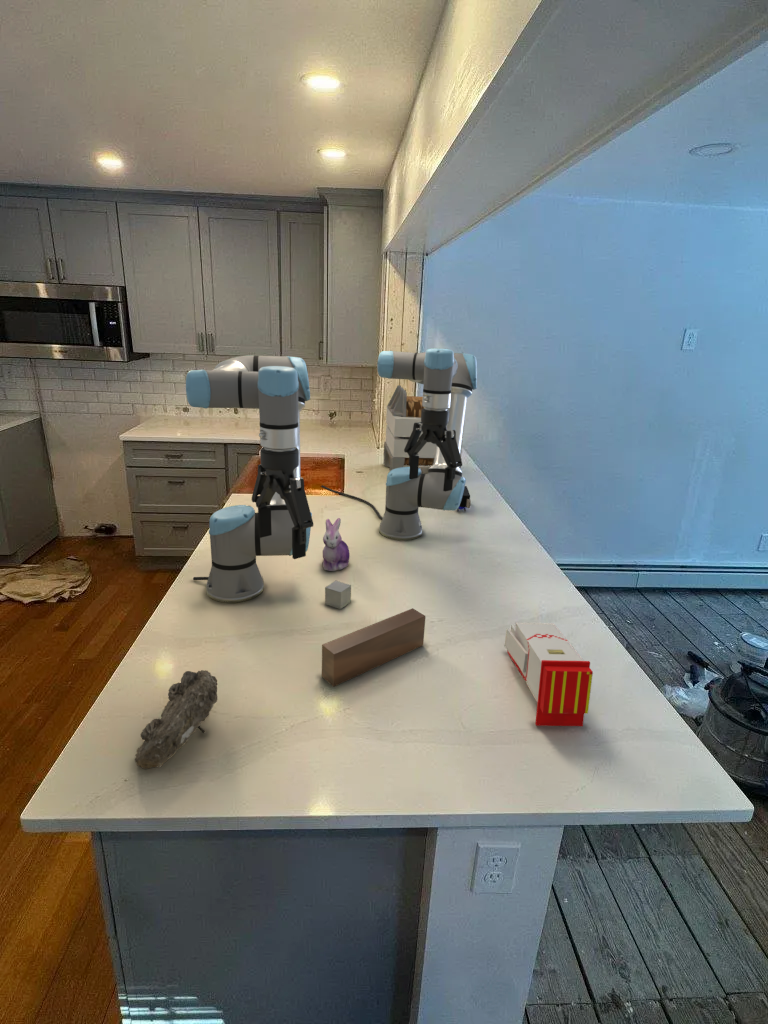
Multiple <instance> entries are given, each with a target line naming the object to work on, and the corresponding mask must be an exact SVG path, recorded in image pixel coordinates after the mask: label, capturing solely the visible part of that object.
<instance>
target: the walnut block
mask: <svg viewBox="0 0 768 1024" xmlns="http://www.w3.org/2000/svg"><path fill="white" fill-rule="evenodd" d="M425 627H426V615H424V614H423V613H421V612H420V611H418V610H417V609H415V608H410V609H407V610H405V611H403V612H400V613H397V614H395V615H392V616H390V617H387V618H385V619H382V620H380V621H377V622H375V623H373V624H370V625H367V626H365V627H363V628H359V629H357V630H355V631H352V632H350V633H347V634H345V635H342V636H339V637H337V638H335V639H332V640H330V641H327V642H325V643H322V644H321V677H322V678H323V680H325V681H327V683H329V684H330V685H331V686H332V687H333V688H335V687H337V686H339V685H341V684H343V683H345V682H347V681H349V680H351V679H355V678H357V677H358V676H360V675H363V674H365V673H367V672H370V671H371V670H373V669H375V668H377V667H380V666H382V665H384V664H387V663H388V662H390V661H393V660H395V659H397V658H399V657H402V656H403V655H406V654H408V653H410V652H412V651H414V650H416V649H418V648H421V647H423V646H424V641H425V629H426V628H425Z"/></svg>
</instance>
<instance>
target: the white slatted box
mask: <svg viewBox="0 0 768 1024" xmlns="http://www.w3.org/2000/svg"><path fill="white" fill-rule="evenodd" d="M407 394H408V393H407V390H406V389H404V388H403V387H402V385H399V384H398V385H397V386H396V388H395V390H394V392H393V394H392V395H391V398H390V400H389V402H388V404H387V405H386V413H385V414H386V415H385V423H386V428H385V438H384V442H383V466H384V467H388V468H389V472H390V471H391V470H393V469H396V468H401V467H405V466H406V467H410V466H409V455H408V453H407V452H406V453H405V452H404V449H405V447H406V444H407V442H408V440H409V438H410V435H411V433H412V431H413V426H414V423H417V422H421V411H422V409H423V408H424V407H423V406H422V398H423V396H415V395H414V396H413V395H412V396H411V395H407ZM464 422H465V419H464ZM464 429H465V424H464V425H463V433H462V439H463V438H464V431H465V430H464ZM422 434H423V432H421V434H420V436H421V435H422ZM420 436H419V437H420ZM418 440H419V438H418ZM463 442H464V441H463V440H462V442H461V450H460V457H461V460H462V453H463ZM435 448H436V444H433V443H431V442H427V443H426V444H425V445H424V446H423V448H422V449H421V450H420V451H419V453H418V455H416V456H419V466H418V467H431V466H432V465H433V464H434V456H435ZM462 461H463V460H462ZM459 469H460V470H461V471H462V466H461V467H459Z"/></svg>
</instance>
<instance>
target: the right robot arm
mask: <svg viewBox="0 0 768 1024" xmlns="http://www.w3.org/2000/svg"><path fill="white" fill-rule="evenodd" d="M477 364H478V363H477V357H476V356H475V355H474V354H472V353H464V352H454V350H452V349H450V348H440V347H439V348H437V347H435V348H434V347H433V348H427V349H426V350H425V351H424V352H422V351H421V352H411V351H410V352H409V351H397V350H396V351H395V350H382V351H380V352H379V355H378V357H377V367H376V368H377V373H378V374H377V375H378V376H379V377H380V378H383V379H389V380H390V379H391V380H408V381H410V382H412V383H417V384H420V385H423V387H422V397H423V398H422V406H423V407H424V408H423V409H422V411H421V422H417V423H414V426H413V431H412V433H411V435H410V438H409V440H408V442H407V444H406V447H405V449H404V452H405V453H406V452H407V453H408V455H409V466H404V467H401V468H396V469H393V470H391V471H390V470H389V472H388V473H387V475H386V482H385V504H384V505H385V507H384V508H385V509H384V513H383V515H382V516H381V514H380V512H379V511H378V510H377V508H376V506H375V505H374V504H372V503H370V501H367V500H365V499H363V498H361V497H358V496H354V495H352V494H348V493H345V492H341V491H338V490H335V489H332V488H329V487H327V486H325V485H323V484H322V485H321V488H322V489H324V490H327V491H328V492H332V493H334V494H337V495H341V496H344V497H347V498H350V499H354V500H358V501H360V502H362V503H364V504H366V505H368V506H369V507H371V508H372V510H373V511H374V513H375V514H376V515H377V517H378V519H379V520H381V522H379V527H378V533H379V534H380V535H381V536H382V537H385V538H387V539H389V540H395V541H410V540H415V539H418V538H420V537H421V536H422V535H423V525H422V520H421V518H420V515H419V508H422V509H423V508H424V509H430V510H431V509H433V510H442V511H451V512H452V511H453V512H454V511H457V509H458V507H459V505H460V503H461V499H462V496H463V492H464V487H465V486H466V481H467V479H466V478H465V476H463V471H462V469H461V470H460V469H459V467H461V468H462V467H463V460H461V458H462V456H461V457H460V450H461V442H462V441H463V438H462V433H463V434H464V432H463V425H464V426H465V421H464V420H465V416H466V408H467V401H468V398H469V397H471V396H472V394H473V390H476V389H478V376H477V375H478V367H477V366H478V365H477ZM421 432H423V434H422V435H421V436H420V434H421ZM419 436H420V437H419ZM418 438H419V440H418ZM427 442H431V443H433V444H436V448H435V456H434V464H433V465H430V466H429V467H428V469H427V470H428V471H427V473H422V469H421V468H420V466H419V456H416V455H418V453H419V451H420V450H421V449H422V448H423V446H424V445H425V444H426V443H427Z"/></svg>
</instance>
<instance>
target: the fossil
mask: <svg viewBox="0 0 768 1024" xmlns="http://www.w3.org/2000/svg"><path fill="white" fill-rule="evenodd" d="M167 698H168V701H167V703H166V705H165V706H164V708H163V709H162V712H161V714H160V718H157V717H156V718H153V719H152V720H151V721H150V722H149V723H147V724H146V725H145V727H144V728H143V729H142V731H141V733H140V738H141V740H142V743H141V744H140V746H139V747H138V748H137V749H136V753H135V755H134V756H135V757H134V762H135V764H136V766H137V767H141V768H142V769H143V770H144V769H145V770H146V769H151V768H156V767H157V768H161V767H162V766H163V765H165V763H166V762H167V761H168V760H169V759H171V758H172V757H173V756H174V755H175V754H177V752H178V751H179V750H180V749H181V748H182V747H184V746H185V744H187V743H188V741H189V739H190V737H191V736H192V735H193V734H195V732H196V731H197V730H199V731H200V732H201V733H202V734H205V733H206V730H205V729H204V728H203V726H201V723H202V722H205V721H206V720H207V718H208V717H209V716H210V712H211V711H212V709H213V707H214V705H215V703H217V702H218V679H217V677H216V676H215V675H212V674H211V672H209V670H206V669H205V670H203V669H202V670H198V671H197V672H195V671H191V670H185V672H183V674H182V677H181V678H180V682H177V683H173V684H172V685H171V686H170V687H169V688H168V693H167Z"/></svg>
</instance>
